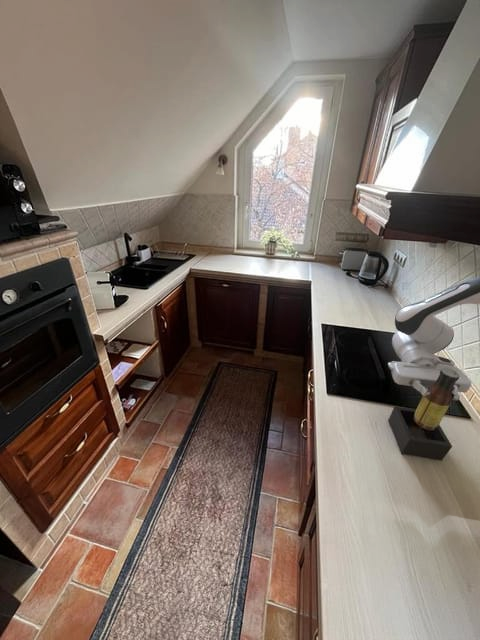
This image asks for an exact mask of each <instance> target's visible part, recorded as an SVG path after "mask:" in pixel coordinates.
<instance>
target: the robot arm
mask: <svg viewBox="0 0 480 640" xmlns="http://www.w3.org/2000/svg"><path fill="white" fill-rule="evenodd" d="M462 305H479V306H480V276H479V277H472V278H469V279H466V280H464V281H461V282H459V283H457V284H455V285H453V286H450V287H448V288H447V289H444V290H442V291H439V292H437V293H435V294H433V295H431V296H428V297H427V298H424V299H423V300H420V301H417V302H413V303H412V304H407V305H406V306H404V307H402V308H400V309H399V310H398V311H397V312H396V314H395V315H394V316H395V317H394V326H395V329H396V330H397V331H396V332H395V333H394V334H393V336H392V338H391V345H392V348H393V350H394V352H395V354H396V356H397V357H398V358H399V359H400V361H396V360H391V361H389V362H387V367H388V368H389V370H390V372H391V376H392V379H393V381H394V383H396V384H397V385H401V386H408V387H413V389H415V390H416V391H418V392H419V393H420V394H421V395H422V397H423V396H427V397H429V395H430V394H431V392H430V391H429V389H428V388H427V387H428V386H429V385H430V384H431V383H432V382H435V381H436V380H437V379H438V377H439V375H440V371H441V369H442V368H449V369H452V370H454V371H456V372H457V373H458V374H459V379H458V380H457V381H456V382H455V384H454V386H453V389H452V401H459V400H460V398H461V396H460V394H459V393H467V392H468V391H469V389H470V388H471V386H472V381H471V379H470V378H469V377H468V376H467V375H466V373H464V372H463V371H462V369H460V368H458V366H455V361H454V360H453V359H449V358H446V357H442V356H440V355H436V354H437V353H439V352H441V351H443V350H445V349H446V348H448V347H449V346H450V345H451V344H452V342H453V340H454V336H455V331H454V328H453V327H451V326H450V325H449V324H447V323H446V322H445V321H443V320H441V319H439V318H438V317H436V315H439V314H441V313H443V312H446V311H448V310H451V309H453V308H456V307H458V306H462Z"/></svg>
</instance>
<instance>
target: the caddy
mask: <svg viewBox="0 0 480 640" xmlns="http://www.w3.org/2000/svg"><path fill="white" fill-rule="evenodd" d="M416 409H417V408H408V407H401V406H394V407H393V409H392V411H391V413H390V415H389V417H388V419H387V422H388V425H389V426H390V429H391V432H392V434H393V437H394V439H395V442H396V444H397V447H398V449H399V452H400V454H401V455H406V456H412V457H418V458H423V459H430V460H437V461H443V460H444V459H445V457H446V456H447V455H448V453H450V450H451V449H452V447H453V445H452V442H450V439H448V436H447V435H446V433H445V432H444V429H443V428H442V427H441V425H440V424H439V425H438V426H437V428H436V429H435V430H426V429H424V428H422V427H420V426H419V425H418V424H417V423H416V422H415V420H414V415H415V411H416ZM409 427H413V428H419V429H421V430H422V432H423V434H424V436H425V438H423V437H415V436H412V434H411V431H410V429H409Z"/></svg>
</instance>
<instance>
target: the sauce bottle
mask: <svg viewBox="0 0 480 640" xmlns="http://www.w3.org/2000/svg"><path fill="white" fill-rule="evenodd" d="M458 379H459V374H458V373H457V372H456V371H454V370H452V369H449V368H442V369H441V371H440V375H439V377H438V379H437V380H436V381H435V382H432V383H431V384H430V385H429V386H428V387H427V388H428V389H429V391H430V392H431V394H430V395H429V397H427V396H422V397H421V399H420V401H419V402H418V403H419V404H418V405H417V408H415V409H416V411H415V415H414V420H415V422H416V423H417V424H418V425H419V426H420V427H422V428H424V429H426V430H435V429H436V428H437V426H438V425H440V424H441V422H442V420H443V419H444V416H445V415H446V413H447V411H448V409H449V407H450V406H451V404H452V402H453V400H452V389H453V386H454V384H455V382H456V381H457V380H458Z"/></svg>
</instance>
